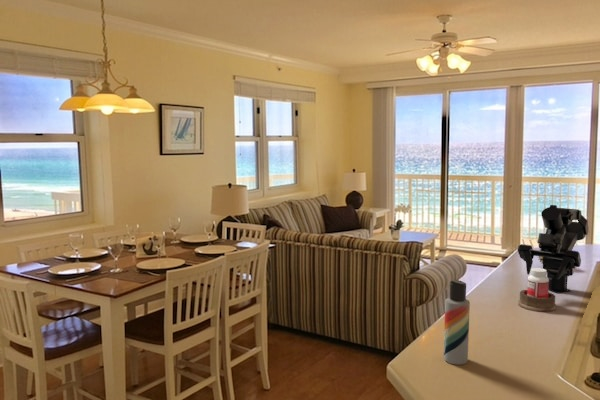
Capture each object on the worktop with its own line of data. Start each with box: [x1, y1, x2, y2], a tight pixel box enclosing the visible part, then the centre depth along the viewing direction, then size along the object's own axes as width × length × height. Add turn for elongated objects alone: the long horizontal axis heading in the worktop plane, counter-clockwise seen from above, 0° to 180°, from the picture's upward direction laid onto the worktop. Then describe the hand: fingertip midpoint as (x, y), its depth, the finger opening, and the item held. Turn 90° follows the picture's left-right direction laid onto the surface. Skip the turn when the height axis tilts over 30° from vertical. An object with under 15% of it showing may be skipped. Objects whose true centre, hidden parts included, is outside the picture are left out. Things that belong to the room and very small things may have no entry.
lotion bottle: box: [443, 279, 471, 366], centre depth 121 cm, size 6×6×20 cm
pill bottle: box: [526, 267, 550, 298], centre depth 161 cm, size 6×6×11 cm
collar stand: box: [517, 289, 557, 313], centre depth 161 cm, size 11×11×4 cm
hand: (542, 276), depth 164 cm, fingers open, 9 cm apart
